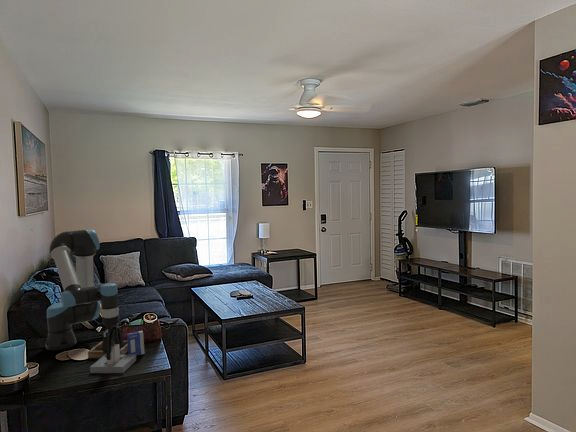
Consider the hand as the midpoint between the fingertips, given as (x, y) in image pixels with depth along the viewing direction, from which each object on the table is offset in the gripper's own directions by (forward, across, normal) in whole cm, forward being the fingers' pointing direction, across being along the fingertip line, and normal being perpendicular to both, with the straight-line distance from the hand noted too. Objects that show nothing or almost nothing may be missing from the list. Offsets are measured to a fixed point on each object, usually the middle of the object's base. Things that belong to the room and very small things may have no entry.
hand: (113, 362), depth 206 cm
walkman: (+2, +14, -5) cm, 15 cm away
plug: (+2, 0, 0) cm, 2 cm away
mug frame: (+2, +17, +10) cm, 20 cm away
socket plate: (+2, 0, 0) cm, 2 cm away
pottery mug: (+3, +18, +8) cm, 21 cm away
